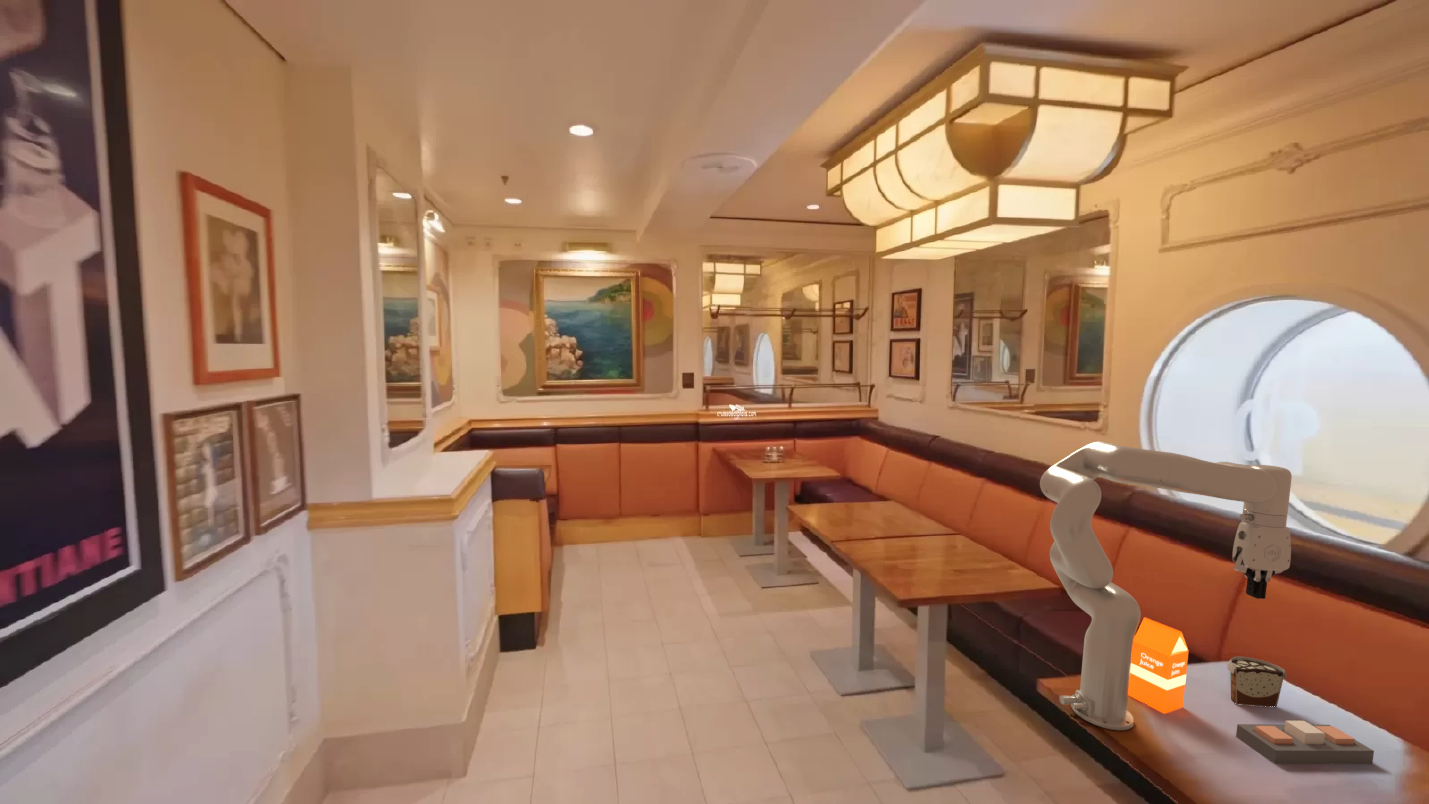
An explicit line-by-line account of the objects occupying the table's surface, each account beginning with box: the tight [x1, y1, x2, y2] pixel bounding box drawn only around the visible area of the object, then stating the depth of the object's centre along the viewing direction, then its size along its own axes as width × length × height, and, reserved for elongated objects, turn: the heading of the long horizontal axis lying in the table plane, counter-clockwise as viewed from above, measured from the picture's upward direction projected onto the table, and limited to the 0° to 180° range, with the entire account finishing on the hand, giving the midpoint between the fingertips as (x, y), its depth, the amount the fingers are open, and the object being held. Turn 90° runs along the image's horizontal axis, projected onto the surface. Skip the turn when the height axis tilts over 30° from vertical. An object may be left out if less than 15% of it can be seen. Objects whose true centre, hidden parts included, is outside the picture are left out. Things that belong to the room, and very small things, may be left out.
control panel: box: [1235, 723, 1375, 765], centre depth 133 cm, size 22×9×3 cm, turn 92°
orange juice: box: [1128, 616, 1189, 715], centre depth 149 cm, size 8×9×20 cm
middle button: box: [1284, 720, 1325, 745], centre depth 132 cm, size 4×4×4 cm
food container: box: [1226, 656, 1287, 708], centre depth 152 cm, size 12×6×10 cm, turn 84°
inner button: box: [1254, 726, 1293, 744], centre depth 132 cm, size 4×4×4 cm
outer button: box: [1315, 725, 1356, 745], centre depth 133 cm, size 4×4×4 cm
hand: (1255, 596), depth 139 cm, fingers closed
